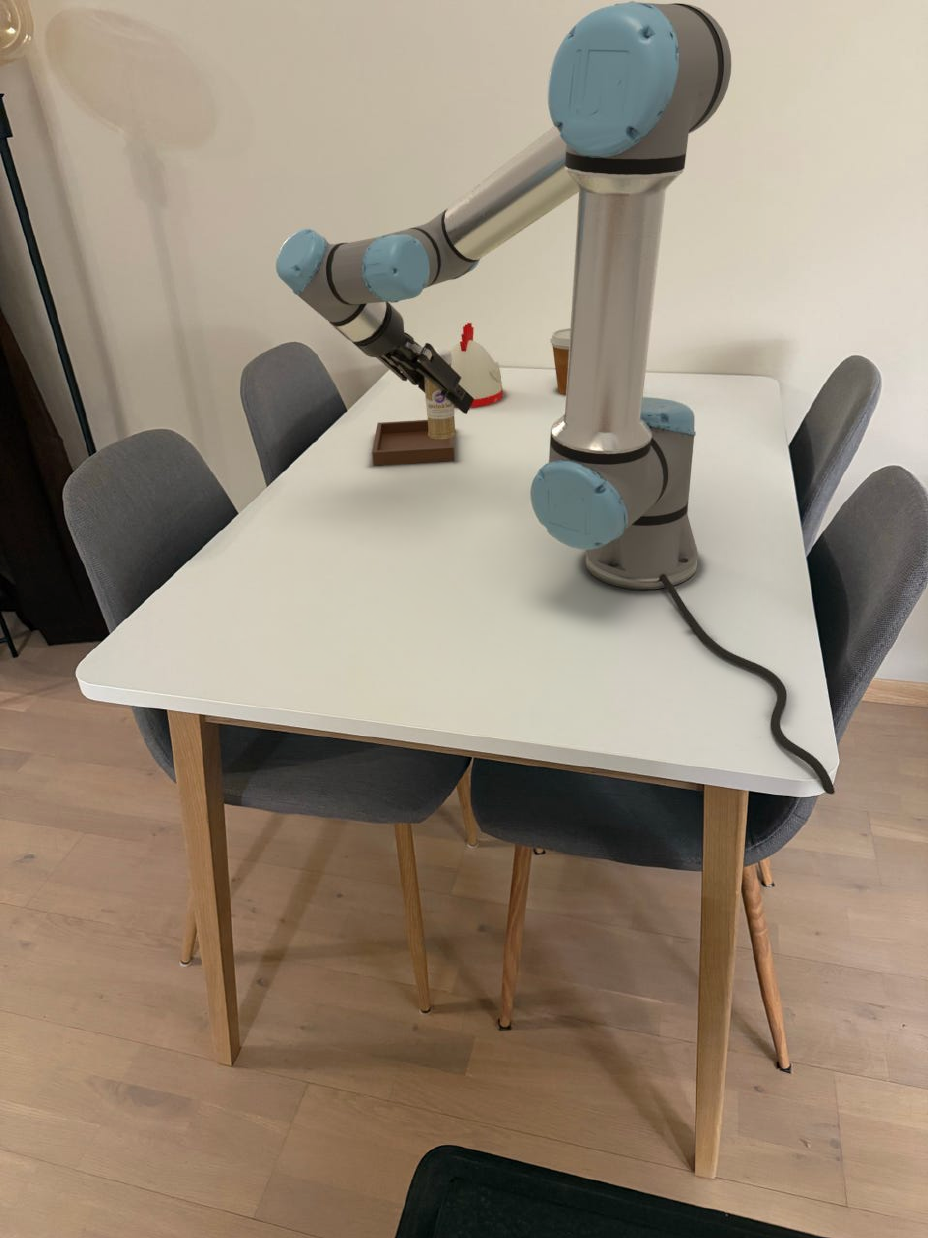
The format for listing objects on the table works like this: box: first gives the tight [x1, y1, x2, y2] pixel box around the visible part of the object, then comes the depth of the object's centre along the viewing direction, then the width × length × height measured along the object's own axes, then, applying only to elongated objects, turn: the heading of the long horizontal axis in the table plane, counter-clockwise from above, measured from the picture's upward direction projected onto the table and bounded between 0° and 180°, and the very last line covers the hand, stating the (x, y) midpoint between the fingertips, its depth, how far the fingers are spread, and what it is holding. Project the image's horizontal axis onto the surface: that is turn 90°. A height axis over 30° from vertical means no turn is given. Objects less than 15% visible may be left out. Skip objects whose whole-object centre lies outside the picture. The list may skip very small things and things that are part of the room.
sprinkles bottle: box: [424, 347, 457, 439], centre depth 141 cm, size 5×5×13 cm
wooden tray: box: [371, 419, 455, 467], centre depth 168 cm, size 16×15×3 cm
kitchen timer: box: [449, 322, 503, 408], centre depth 189 cm, size 14×14×15 cm
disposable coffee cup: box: [550, 327, 570, 395], centre depth 189 cm, size 10×10×12 cm
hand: (457, 402), depth 144 cm, fingers closed on sprinkles bottle, 4 cm apart
